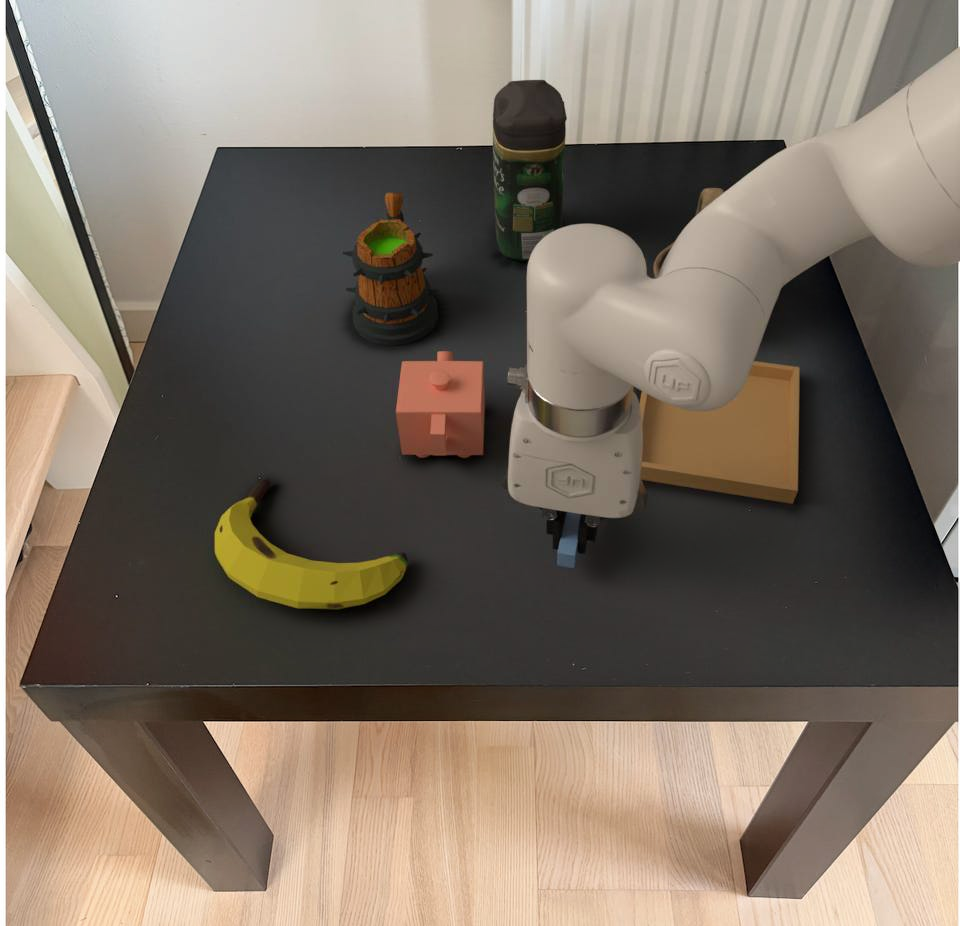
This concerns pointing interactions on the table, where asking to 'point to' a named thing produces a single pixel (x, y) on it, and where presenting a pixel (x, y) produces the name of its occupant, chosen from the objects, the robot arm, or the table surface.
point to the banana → (296, 566)
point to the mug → (391, 281)
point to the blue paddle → (569, 541)
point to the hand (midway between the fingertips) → (571, 537)
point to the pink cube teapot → (441, 407)
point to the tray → (729, 439)
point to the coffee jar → (527, 165)
